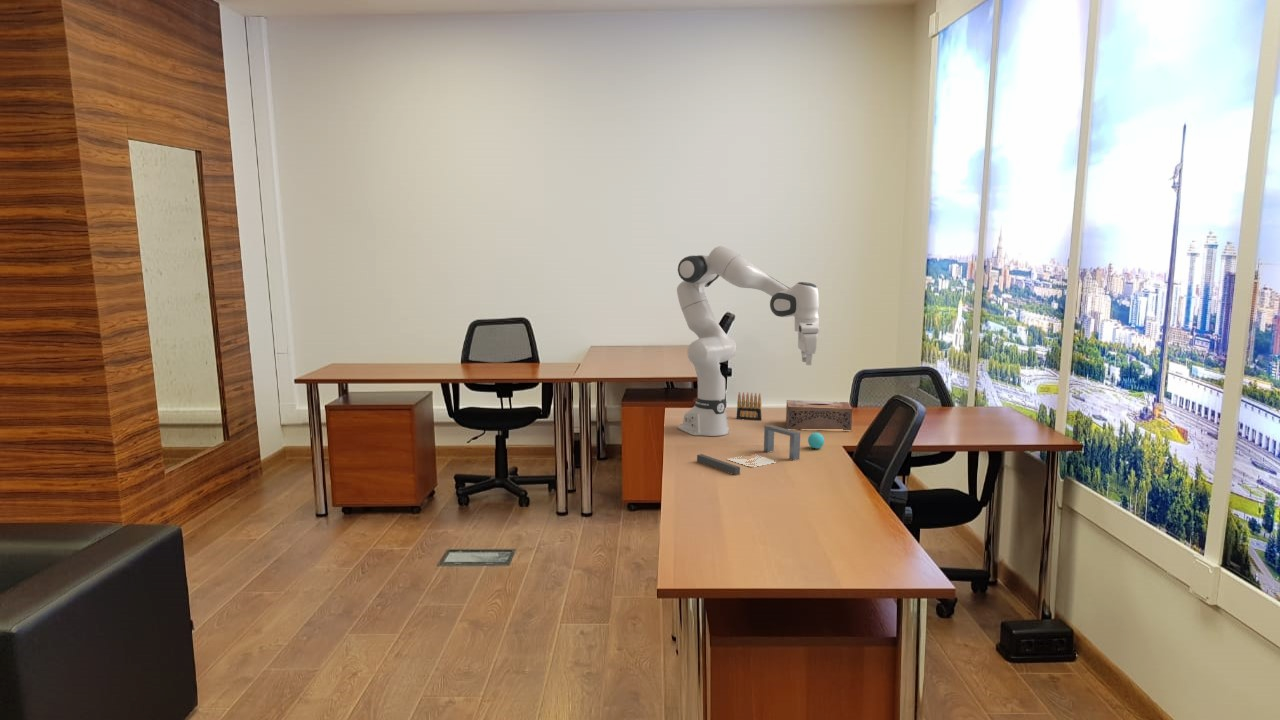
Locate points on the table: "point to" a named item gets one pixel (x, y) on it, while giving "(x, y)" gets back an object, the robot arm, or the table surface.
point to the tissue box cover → (818, 415)
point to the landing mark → (759, 462)
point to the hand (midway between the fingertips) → (806, 363)
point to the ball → (816, 440)
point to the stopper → (718, 464)
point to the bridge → (793, 435)
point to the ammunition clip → (747, 411)
